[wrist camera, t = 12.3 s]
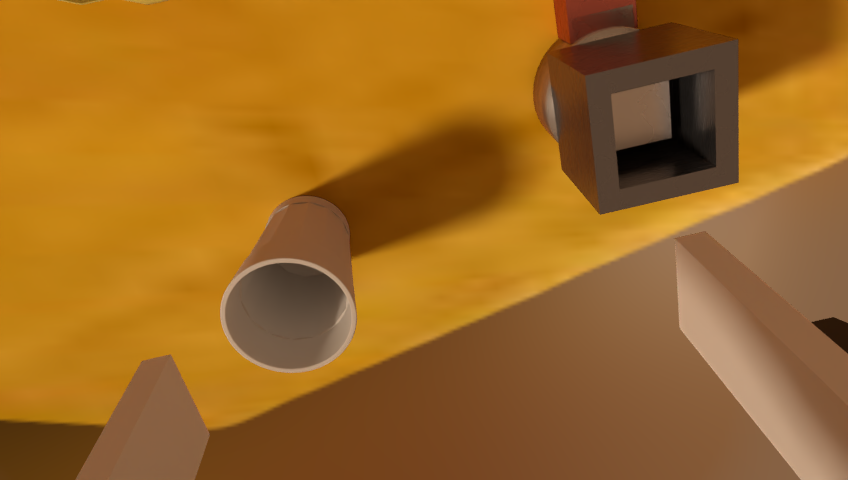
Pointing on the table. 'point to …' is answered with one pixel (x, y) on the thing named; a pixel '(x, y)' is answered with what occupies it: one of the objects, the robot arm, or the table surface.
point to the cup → (294, 290)
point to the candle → (86, 0)
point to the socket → (689, 107)
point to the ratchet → (632, 109)
